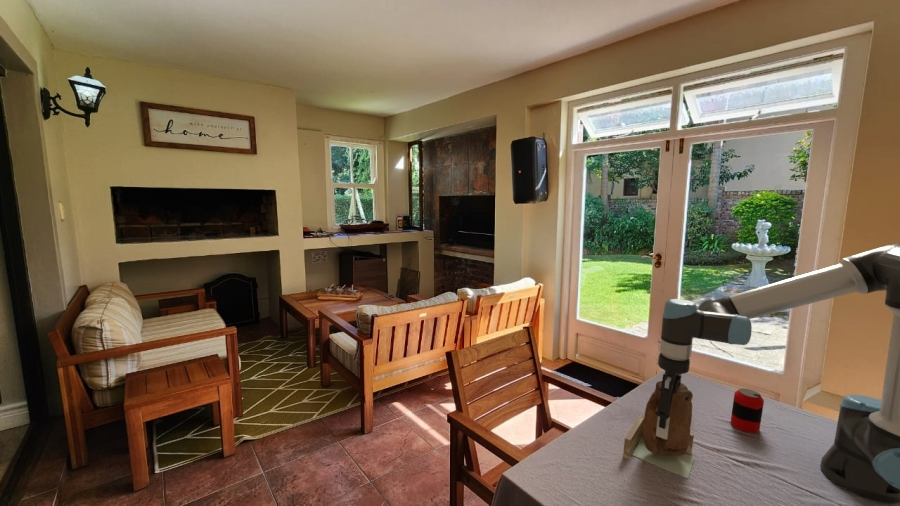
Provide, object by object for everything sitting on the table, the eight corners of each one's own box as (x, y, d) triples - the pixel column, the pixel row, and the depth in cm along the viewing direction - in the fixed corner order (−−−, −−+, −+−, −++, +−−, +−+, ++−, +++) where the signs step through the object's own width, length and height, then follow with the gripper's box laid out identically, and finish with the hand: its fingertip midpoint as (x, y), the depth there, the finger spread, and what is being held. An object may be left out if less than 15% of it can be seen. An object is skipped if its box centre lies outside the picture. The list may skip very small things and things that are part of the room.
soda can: (755, 436, 121) (761, 401, 119) (727, 425, 126) (731, 391, 125) (762, 427, 125) (767, 393, 123) (734, 417, 131) (738, 384, 129)
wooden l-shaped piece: (691, 452, 113) (694, 433, 112) (681, 482, 101) (684, 461, 100) (638, 431, 123) (639, 414, 122) (623, 456, 111) (624, 438, 110)
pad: (694, 457, 111) (694, 456, 111) (687, 478, 103) (687, 478, 103) (642, 437, 120) (642, 436, 120) (631, 455, 112) (632, 454, 111)
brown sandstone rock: (673, 441, 115) (681, 378, 111) (690, 458, 107) (698, 392, 104) (638, 441, 114) (644, 379, 111) (652, 459, 107) (660, 392, 104)
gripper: (668, 339, 117) (661, 405, 121) (648, 365, 100) (641, 441, 103) (697, 346, 113) (688, 414, 116) (681, 374, 95) (672, 454, 98)
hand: (666, 427), depth 110 cm, fingers closed on brown sandstone rock, 11 cm apart
